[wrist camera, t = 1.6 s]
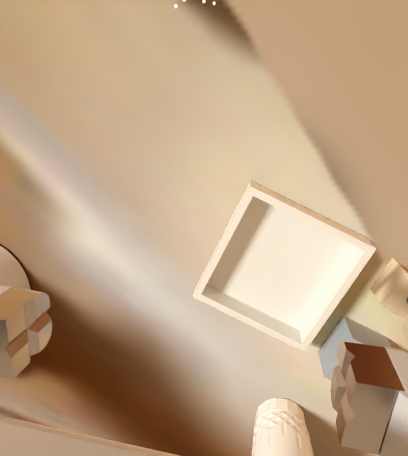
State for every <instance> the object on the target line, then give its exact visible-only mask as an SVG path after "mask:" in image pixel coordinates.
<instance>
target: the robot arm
mask: <svg viewBox="0 0 408 456" xmlns="http://www.w3.org/2000/svg"><path fill="white" fill-rule="evenodd" d="M49 308H50V299H49V296H48V295H47V294H46V293H44V292H39V291H33V290H31V288H30V285H29V281H28V278H27V276H26V274H25V272H24V270H23V268H22V267H21V265H20V264H19V262H18V261H17V260H16V259H15V258H14V257H13V256H12V255H11V254H10V253H9V252H8V251H7V250H6V249H4V248H3V247H1V246H0V377H6V378H11V379H14V378H15V377H16V376H17V375H18V374H19V373H20V372H21V371H22V370H23V369H24V368H25V367H26V366H27V365H28V364H29V363H30V356H32V355H34V354H36V353H39V352H41V350H42V349H43V348H44V347H45V346H46V345H47V343H48V341H49V339H50V336H51V332H52V320H51V318H50V317H49V315H48V314H47V313H46V312H47V311H48V309H49ZM337 357H338V362H339V365H338V366H336V367H335V368H334V369H333V374H332V380H331V400H332V405H333V408H334V409H335V410H336V411H337V412H338V414H337V418H336V426H337V431H338V436H339V441H340V446H343V447H348V448H352V449H356V450H360V451H365V452H369V453H373V454H378V455H379V456H408V352H407V351H405V350H404V349H398V348H390V347H380V346H373V345H366V344H359V343H352V342H345V341H341V342H340V344H339V347H338V351H337ZM0 456H180V455H175V454H171V453H166V452H162V451H157V450H153V449H148V448H144V447H139V446H135V445H130V444H126V443H121V442H117V441H112V440H108V439H103V438H99V437H94V436H90V435H85V434H81V433H76V432H72V431H67V430H63V429H58V428H54V427H49V426H45V425H40V424H36V423H31V422H27V421H22V420H18V419H13V418H9V417H4V416H0Z"/></svg>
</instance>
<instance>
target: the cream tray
mask: <svg viewBox="0 0 408 456" xmlns="http://www.w3.org/2000/svg"><path fill="white" fill-rule="evenodd" d="M376 249H377V248H376V247H375V246H374V245H373V244H372V243H371V242H370V240H369V239H368V238H366V237H364V236H362V235H360V234H358V233H356V232H354V231H352V230H350V229H348V228H346V227H344V226H342V225H340V224H338V223H336V222H334V221H332V220H330V219H328V218H326V217H324V216H322V215H320V214H318V213H316V212H314V211H312V210H310V209H308V208H306V207H304V206H302V205H300V204H298V203H295V202H293V201H291V200H289V199H287V198H285V197H283V196H281V195H279V194H277V193H275V192H273V191H271V190H269V189H267V188H265V187H263V186H261V185H259V184H257V183H255V182H253V181H250V183H249V185H248V187H247V189H246V191H245V192H244V194H243V196H242V198H241V200H240V202H239V204H238V206H237V208H236V210H235V212H234V214H233V216H232V218H231V219H230V221H229V223H228V225H227V227H226V229H225V231H224V233H223V235H222V237H221V239H220V241H219V243H218V245H217V247H216V248H215V250H214V252H213V254H212V256H211V258H210V260H209V262H208V264H207V266H206V268H205V270H204V272H203V274H202V275H201V277H200V279H199V281H198V283H197V286H196V288H195V291H194V294H193V296H192V297H194V298H196V299H198V300H200V301H202V302H204V303H206V304H208V305H210V306H212V307H214V308H216V309H218V310H220V311H222V312H224V313H226V314H228V315H230V316H232V317H234V318H236V319H238V320H240V321H243V322H245V323H247V324H249V325H251V326H253V327H255V328H257V329H259V330H261V331H263V332H265V333H267V334H269V335H271V336H273V337H275V338H277V339H279V340H281V341H283V342H285V343H287V344H289V345H291V346H293V347H295V348H297V349H299V350H301V351H303V352H305V351H306V349H307V348H308V347H309V345H310V344H311V342H312V341H313V339H314V338H315V336H316V335H317V334H318V332H319V331H320V329H321V328H322V326H323V325H324V324H325V322H326V321H327V319H328V318H329V316H330V315H331V314H332V312H333V311H334V309H335V308H336V306H337V305H338V303H339V302H340V301H341V299H342V298H343V296H344V295H345V293H346V292H347V291H348V289H349V288H350V286H351V285H352V283H353V282H354V281H355V279H356V278H357V276H358V275H359V273H360V272H361V271H362V269H363V268H364V266H365V265H366V263H367V262H368V260H369V259H370V258H371V256H372V255H373V253H374V252H375V250H376Z"/></svg>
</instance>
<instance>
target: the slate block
mask: <svg viewBox="0 0 408 456" xmlns="http://www.w3.org/2000/svg"><path fill="white" fill-rule="evenodd" d="M341 341H345V342H352V343H359V344H366V345H373V346H380V347H390V348H392V346H391V344H390V342H389V341H388V339H387V337H385V336H383V335H381V334H379V333H377V332H375V331H373V330H371V329H369V328H367V327H365V326H363V325H361V324H359V323H357V322H355V321H353V320H351V319H349V318H347V317H345V316H343V317H342V319H341V320H340V321H339V323H338V324H337V325H336V327H335V328H334V330H333V331H332V332H331V334H330V335H329V337H328V338H327V339H326V341H325V342H324V343H323V345H322V346H321V348H320V349H319V350H318V353H319V357H320V361H321V365H322V369H323V373H324V377H326V378H328V379H330V380H332V374H333V369H334V368H335V367H336V366H338V365H339V362H338V357H337V351H338V347H339V344H340V342H341Z"/></svg>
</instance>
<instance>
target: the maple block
mask: <svg viewBox="0 0 408 456" xmlns="http://www.w3.org/2000/svg"><path fill="white" fill-rule="evenodd" d="M371 290H372V291H373V293H374V295H375V296H376V298H377V299H378V301H379V302H380V304H381V305H382V307H384V308H386V309H388V310H390V311H392V312H394V313H396V314H398V315H400V316H402V317H404V318H406V319H408V265H407V264H405V263H403V262H400V261H399V260H397V259H395V258H392V259H391V260H390V261H389V263H388V264H387V266H386V267H385V269H384V270H383V272H382V273H381V274H380V276H379V277H378V279H377V280H376V281H375V283H374V284H373V285H372V287H371Z"/></svg>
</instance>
